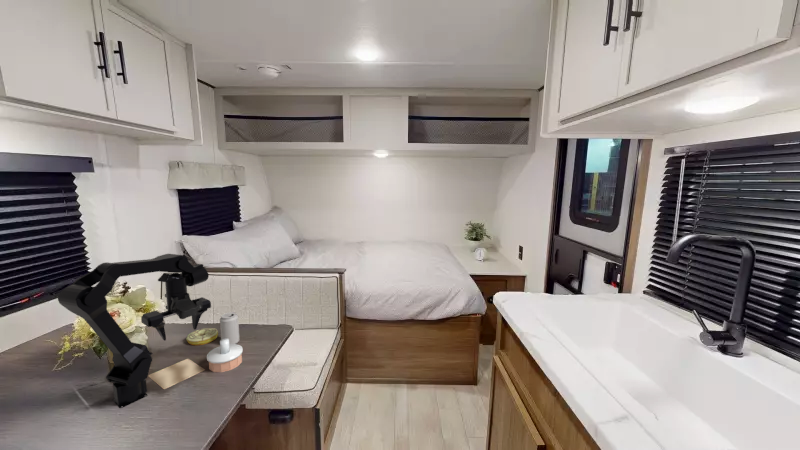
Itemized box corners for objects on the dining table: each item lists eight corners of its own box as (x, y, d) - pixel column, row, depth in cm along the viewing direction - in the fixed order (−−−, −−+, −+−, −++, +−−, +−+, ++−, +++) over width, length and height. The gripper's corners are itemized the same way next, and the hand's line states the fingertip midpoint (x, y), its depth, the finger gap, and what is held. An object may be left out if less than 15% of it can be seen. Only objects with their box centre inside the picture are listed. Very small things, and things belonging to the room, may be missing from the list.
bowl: (219, 377, 103) (218, 366, 102) (203, 367, 108) (203, 356, 108) (247, 362, 111) (247, 352, 111) (232, 353, 117) (231, 343, 116)
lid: (217, 367, 102) (216, 352, 101) (200, 356, 107) (199, 342, 107) (249, 352, 111) (248, 338, 110) (231, 343, 117) (230, 330, 116)
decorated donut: (202, 333, 132) (202, 324, 131) (224, 336, 129) (223, 327, 129) (180, 345, 122) (179, 336, 121) (203, 349, 119) (202, 340, 119)
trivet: (164, 391, 96) (164, 389, 96) (147, 377, 102) (147, 375, 102) (205, 371, 106) (205, 369, 106) (188, 360, 112) (187, 358, 112)
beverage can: (234, 347, 121) (232, 318, 119) (217, 347, 121) (216, 318, 119) (242, 339, 127) (241, 311, 125) (227, 338, 127) (225, 311, 126)
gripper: (153, 305, 92) (158, 354, 94) (218, 288, 108) (220, 330, 110) (138, 297, 98) (143, 343, 100) (201, 281, 113) (204, 322, 116)
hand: (180, 334), depth 106 cm, fingers open, 9 cm apart
